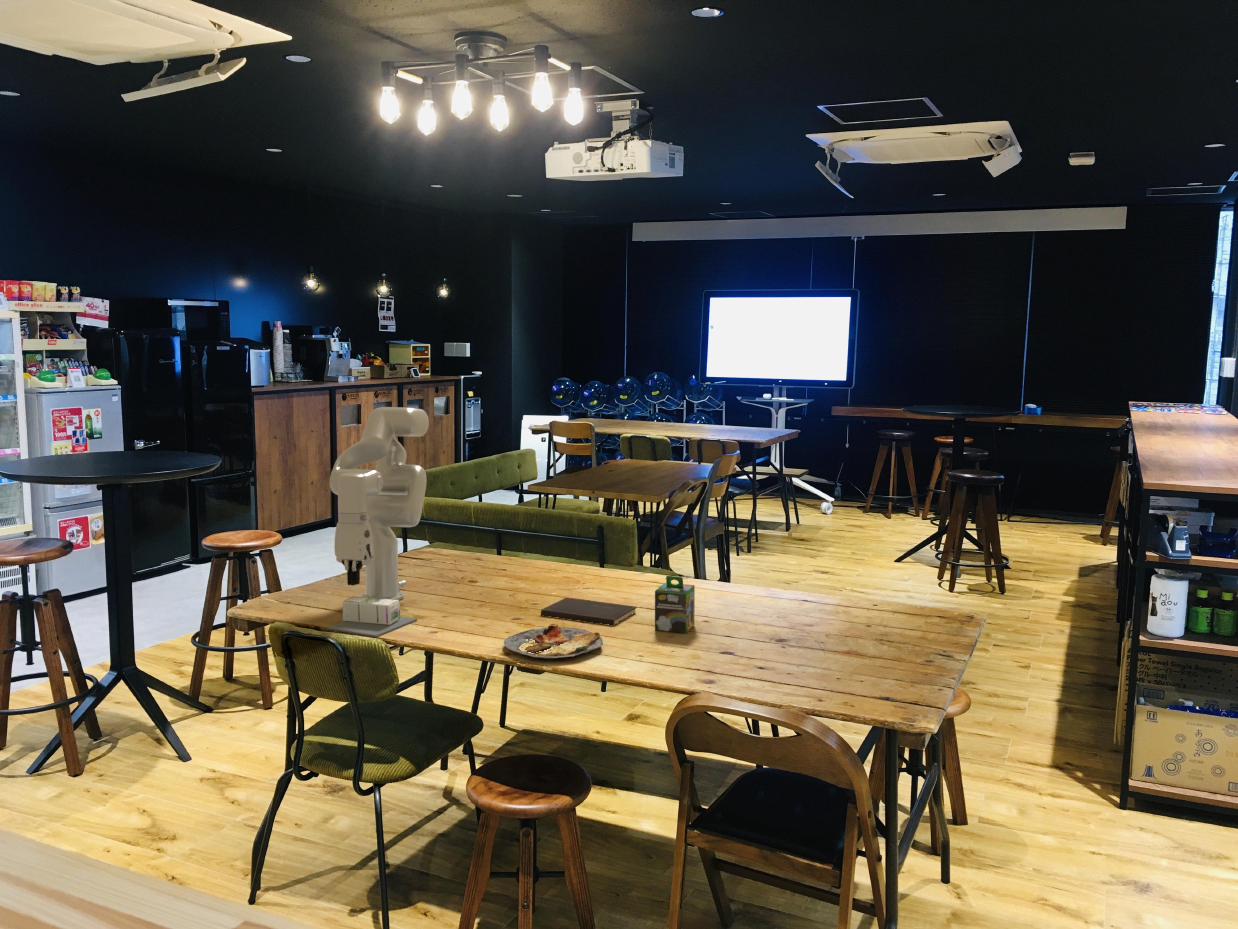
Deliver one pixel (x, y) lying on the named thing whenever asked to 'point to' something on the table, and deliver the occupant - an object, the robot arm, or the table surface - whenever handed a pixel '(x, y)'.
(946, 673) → the table surface
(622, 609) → the hardcover book
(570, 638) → the food plate
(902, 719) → the table surface
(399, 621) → the rubber mat
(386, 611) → the syrup box
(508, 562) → the table surface
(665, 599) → the chalk box
